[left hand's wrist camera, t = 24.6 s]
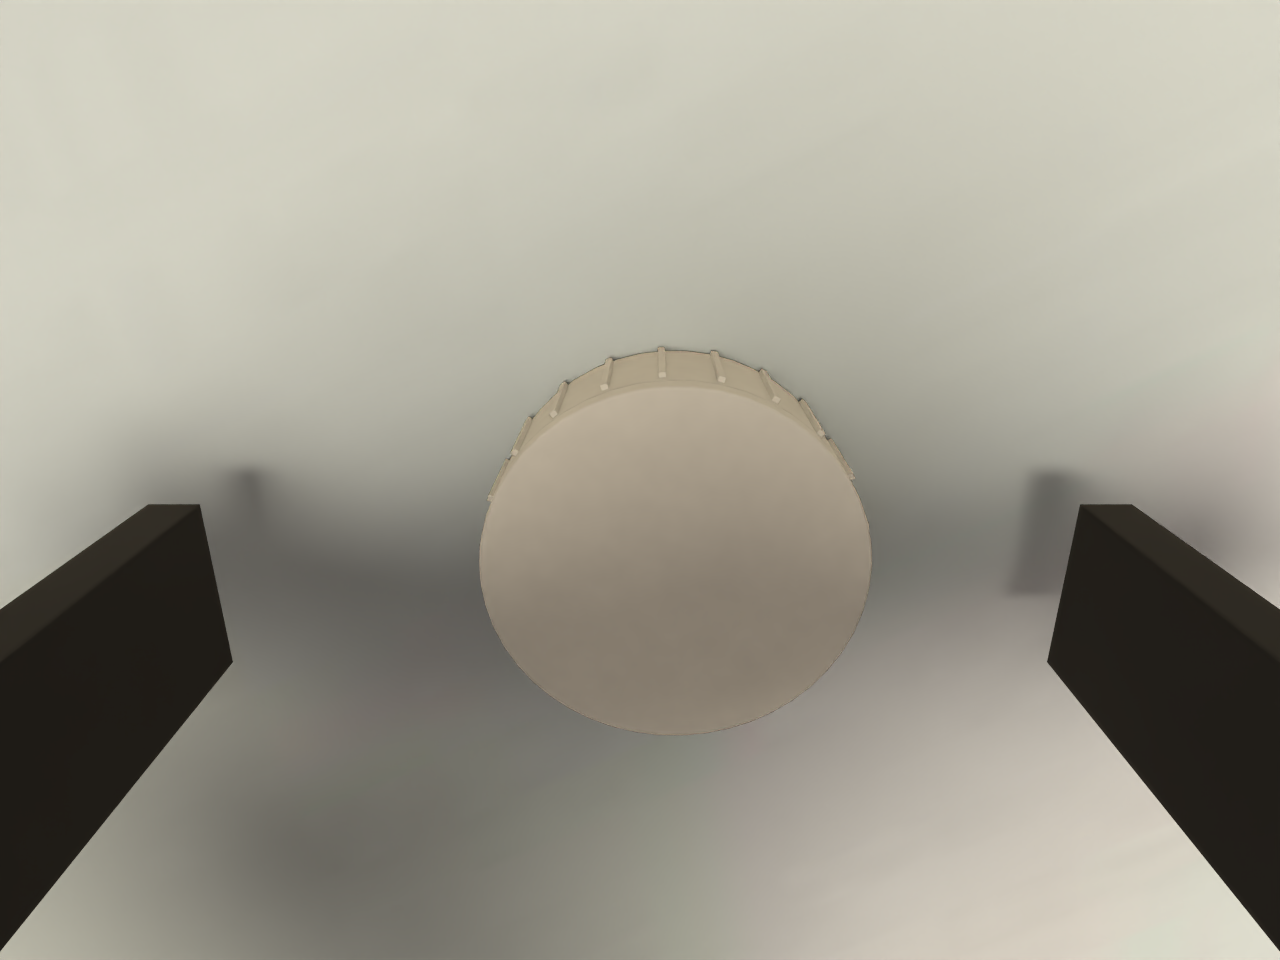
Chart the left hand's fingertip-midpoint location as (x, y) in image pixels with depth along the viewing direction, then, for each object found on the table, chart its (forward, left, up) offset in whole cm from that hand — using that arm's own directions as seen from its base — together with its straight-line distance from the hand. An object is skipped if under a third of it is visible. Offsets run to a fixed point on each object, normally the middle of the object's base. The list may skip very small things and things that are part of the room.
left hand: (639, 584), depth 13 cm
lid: (+1, 0, 0) cm, 1 cm away
